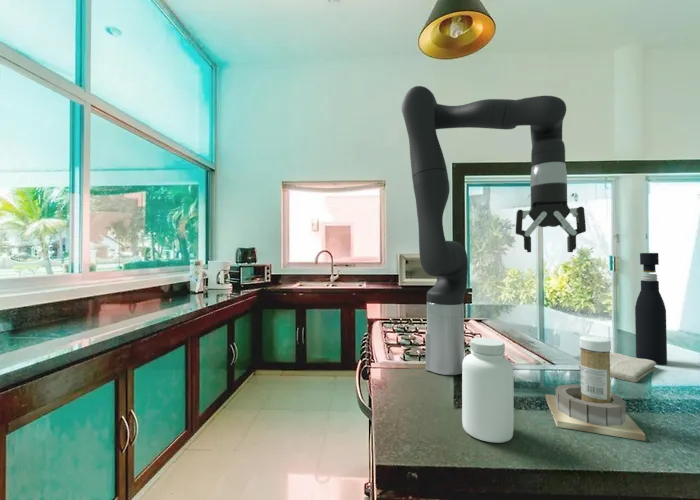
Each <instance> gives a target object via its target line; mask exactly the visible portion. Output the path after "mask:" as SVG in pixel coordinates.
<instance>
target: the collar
mask: <svg viewBox="0 0 700 500" xmlns="http://www.w3.org/2000/svg"><path fill="white" fill-rule="evenodd" d="M545 401H546V403H547V405H548V408H549V411H550V410H551V411H550V412H551V416H552V415H553V416H552V418H553V420H554V423H555V425H556V427H558V428H561V429H562V428H564V429H567V430H568V429H570V430H575V431H581V432H585V433H586V432H588V433H594V434H600V435H606V436H612V437H619V438H624V439H630V440H636V441H643V442H646V434H645V433H644V432H643V430H642V429H641V428H640V427H639V426H638V425H637V423H636V422H635V421H634V420H633V419H632V418H631V417H630V416H629V415H628V414H627V411H626V406H627V404H626V401H625V400H624V399H623V398H622V397H621V396H620V395H618V394H616V393H613V392H611V403H605V404H599V403H592V402H586V401H583V400H582V393H581V384H561V385H558V386H557V387H555V395H554V394H547V393H545Z"/></svg>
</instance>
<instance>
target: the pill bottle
mask: <svg viewBox="0 0 700 500" xmlns="http://www.w3.org/2000/svg"><path fill="white" fill-rule="evenodd" d="M469 342H470V344H469V345H470V353H469V354H466V355H465V356H464V359H463V362H462V373H461V374H462V375H461V380H462V382H461V391H462V392H461V398H462V399H461V401H462V402H461V403H462V404H461V423H462V424H461V425H462V428H463V430H464V431H465V432H466V434H468V435H469V436H471V437H473V438H475V439H477V440H480V441H484V442H488V443H496V444H497V443H499V444H501V443H506V442H509V441H510V440H511V439H512V438H513V436H514V430H515V429H514V418H515V417H514V415H515V414H514V411H515V410H514V405H515V404H514V399H515V398H514V397H515V396H514V391H515V390H514V388H515V387H514V385H515V384H514V381H515V378H514V375H515V373H514V371H515V370H514V367H513V366H514V365H513V364H512V362H511V361H510V360H509V359H507V358H506V357H505V355H506V353H505V352H506V351H505V348H506V347H505V342H504V341H503V340H500V339H496V338H491V337H474V338H471V339H470V341H469Z"/></svg>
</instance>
